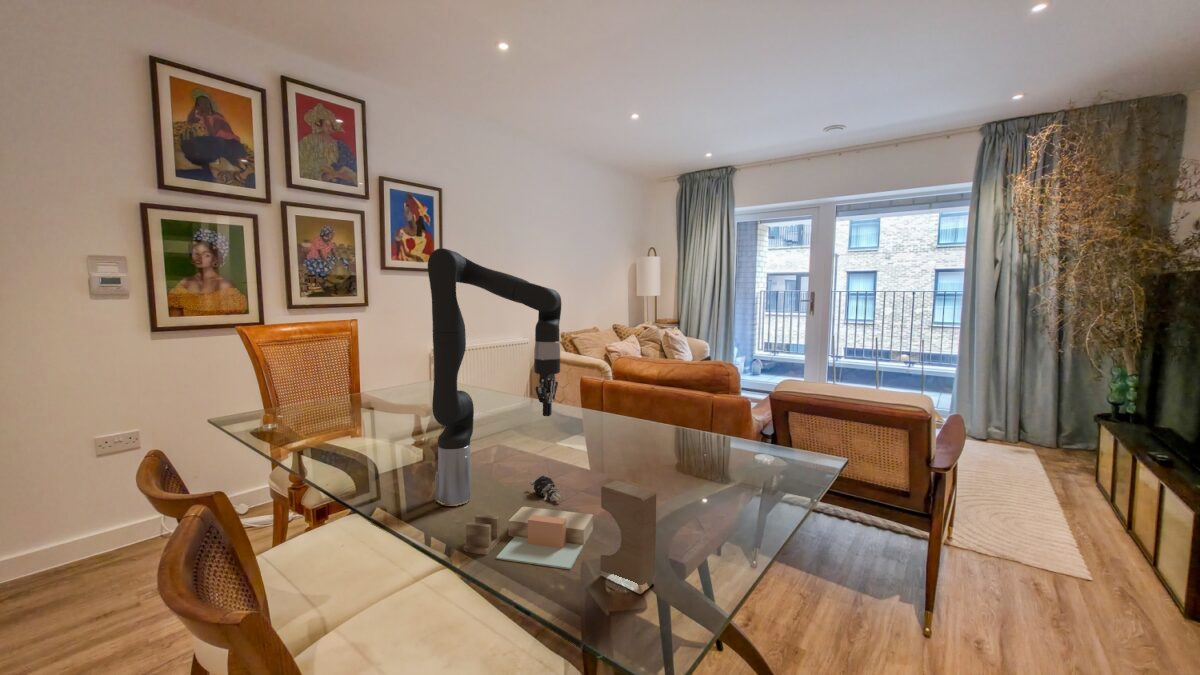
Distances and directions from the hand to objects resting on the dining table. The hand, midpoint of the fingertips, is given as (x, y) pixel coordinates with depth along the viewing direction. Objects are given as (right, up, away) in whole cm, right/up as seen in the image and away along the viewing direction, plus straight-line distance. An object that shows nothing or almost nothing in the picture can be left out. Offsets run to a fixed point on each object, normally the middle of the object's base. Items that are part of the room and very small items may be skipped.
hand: (547, 415), depth 136 cm
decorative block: (+21, -29, -37) cm, 52 cm away
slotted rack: (-13, -28, -22) cm, 38 cm away
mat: (+1, -28, -26) cm, 38 cm away
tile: (+3, -25, -20) cm, 32 cm away
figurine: (-1, -27, +9) cm, 29 cm away
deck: (+3, -28, -15) cm, 32 cm away
